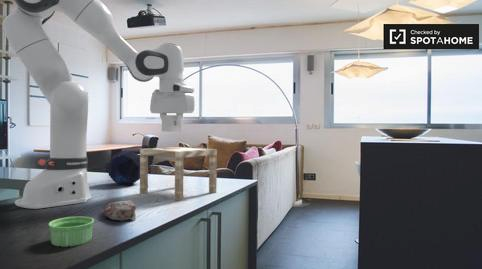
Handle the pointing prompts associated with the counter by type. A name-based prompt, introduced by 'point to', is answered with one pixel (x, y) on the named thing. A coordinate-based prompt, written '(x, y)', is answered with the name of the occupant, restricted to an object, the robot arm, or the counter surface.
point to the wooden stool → (178, 167)
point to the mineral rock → (120, 210)
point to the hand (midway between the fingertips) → (171, 125)
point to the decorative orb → (124, 168)
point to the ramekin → (71, 231)
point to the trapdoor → (179, 149)
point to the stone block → (170, 123)
